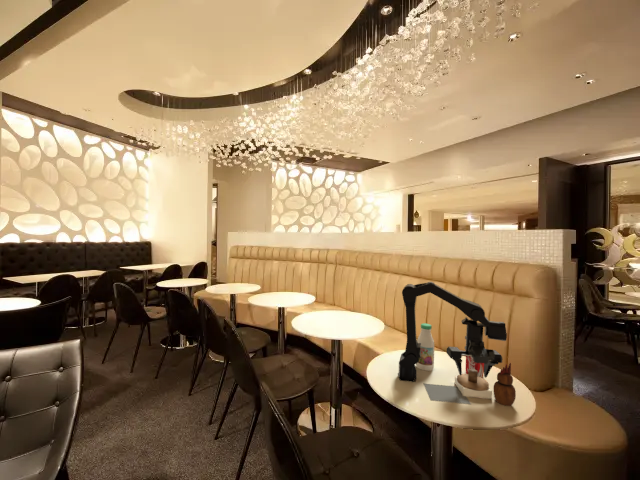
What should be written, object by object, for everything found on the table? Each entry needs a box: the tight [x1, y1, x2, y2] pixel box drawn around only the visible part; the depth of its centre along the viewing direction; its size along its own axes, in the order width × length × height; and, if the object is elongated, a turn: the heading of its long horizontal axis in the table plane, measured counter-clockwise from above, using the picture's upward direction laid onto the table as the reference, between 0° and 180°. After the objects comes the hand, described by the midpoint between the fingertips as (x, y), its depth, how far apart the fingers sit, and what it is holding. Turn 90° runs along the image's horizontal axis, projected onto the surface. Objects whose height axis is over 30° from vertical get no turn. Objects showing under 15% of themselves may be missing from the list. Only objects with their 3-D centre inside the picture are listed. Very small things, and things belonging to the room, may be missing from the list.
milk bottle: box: [415, 323, 435, 371], centre depth 133 cm, size 8×8×20 cm
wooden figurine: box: [493, 362, 517, 407], centre depth 106 cm, size 7×6×15 cm
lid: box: [456, 369, 490, 391], centre depth 113 cm, size 11×11×5 cm
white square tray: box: [454, 375, 493, 400], centre depth 113 cm, size 10×10×4 cm
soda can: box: [465, 356, 484, 378], centre depth 126 cm, size 7×7×12 cm
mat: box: [423, 383, 472, 405], centre depth 111 cm, size 14×12×1 cm
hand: (472, 376), depth 113 cm, fingers open, 9 cm apart
